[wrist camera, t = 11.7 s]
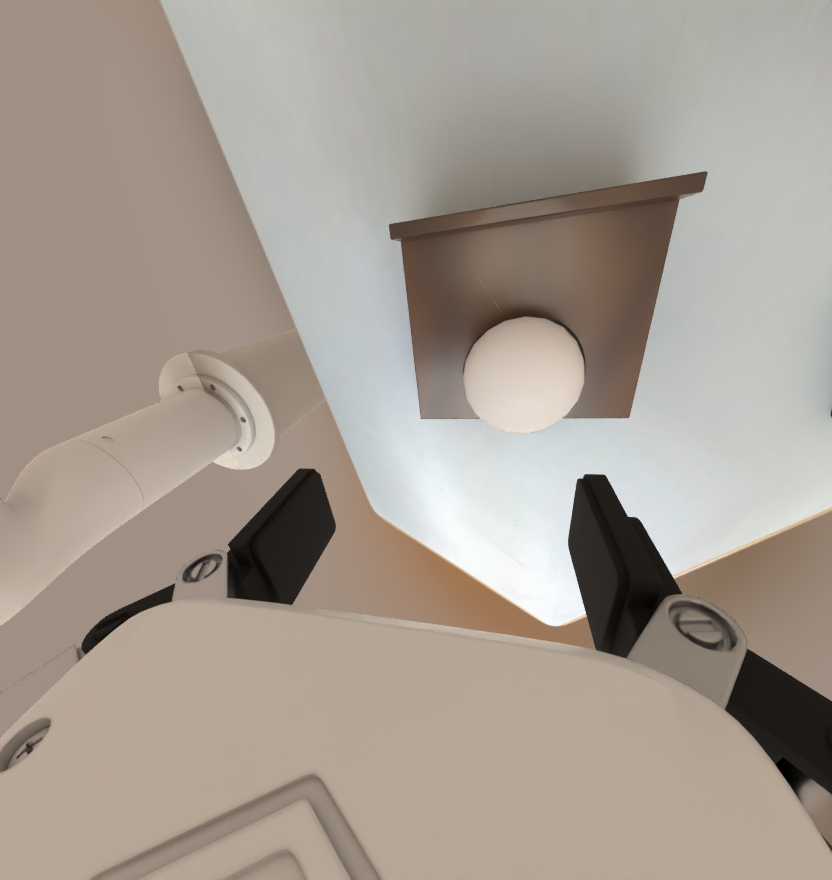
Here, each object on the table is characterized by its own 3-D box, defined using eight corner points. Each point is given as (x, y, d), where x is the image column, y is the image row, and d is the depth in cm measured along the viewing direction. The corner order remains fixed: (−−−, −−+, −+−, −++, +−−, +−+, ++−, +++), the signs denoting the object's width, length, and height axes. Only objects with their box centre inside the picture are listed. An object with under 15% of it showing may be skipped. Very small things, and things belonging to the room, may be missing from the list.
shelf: (436, 388, 34) (414, 431, 25) (423, 235, 28) (388, 224, 19) (601, 383, 30) (641, 433, 21) (632, 203, 24) (709, 170, 15)
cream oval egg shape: (578, 395, 24) (607, 444, 17) (479, 415, 26) (473, 463, 20) (562, 247, 19) (592, 241, 13) (447, 287, 22) (426, 298, 16)
